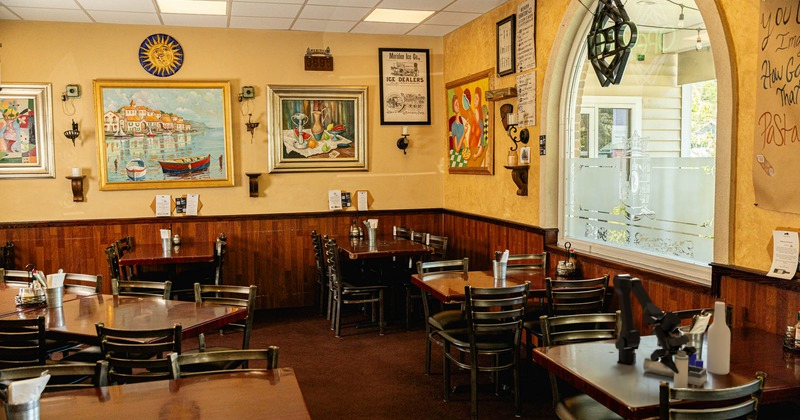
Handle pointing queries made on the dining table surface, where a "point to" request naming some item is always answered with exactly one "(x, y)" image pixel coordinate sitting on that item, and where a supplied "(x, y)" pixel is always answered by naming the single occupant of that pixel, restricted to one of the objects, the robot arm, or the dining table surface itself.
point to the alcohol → (718, 342)
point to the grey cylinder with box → (694, 376)
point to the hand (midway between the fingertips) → (683, 372)
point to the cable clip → (695, 361)
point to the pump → (681, 370)
